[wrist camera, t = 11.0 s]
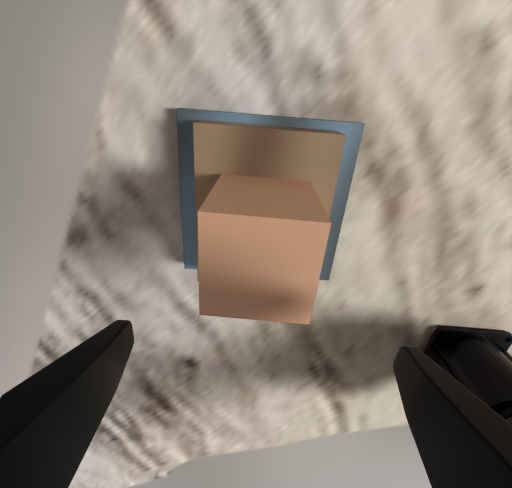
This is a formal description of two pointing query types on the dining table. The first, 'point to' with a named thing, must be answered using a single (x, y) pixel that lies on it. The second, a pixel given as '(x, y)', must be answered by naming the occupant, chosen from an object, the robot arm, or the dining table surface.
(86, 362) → the robot arm
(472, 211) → the dining table surface
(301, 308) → the terracotta cube
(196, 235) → the foundation block
